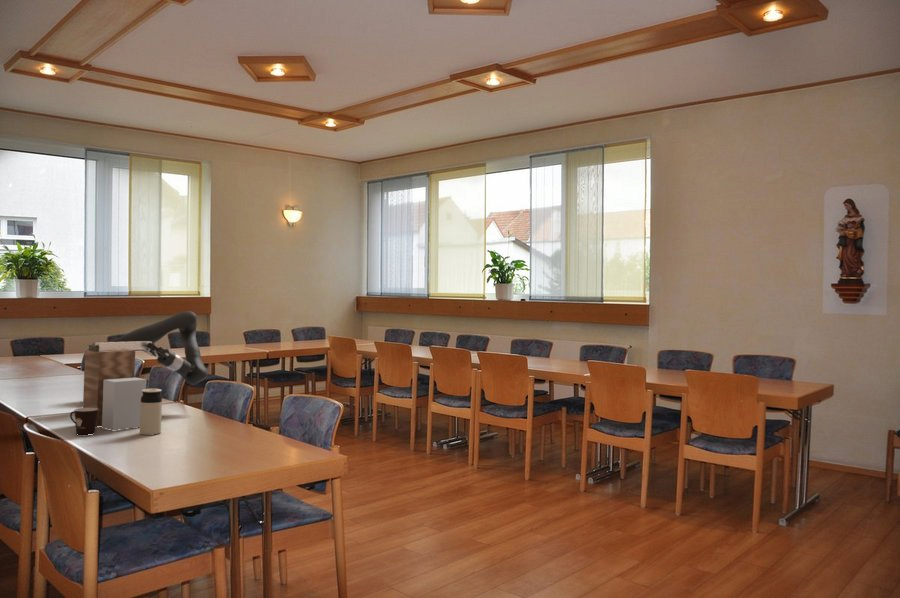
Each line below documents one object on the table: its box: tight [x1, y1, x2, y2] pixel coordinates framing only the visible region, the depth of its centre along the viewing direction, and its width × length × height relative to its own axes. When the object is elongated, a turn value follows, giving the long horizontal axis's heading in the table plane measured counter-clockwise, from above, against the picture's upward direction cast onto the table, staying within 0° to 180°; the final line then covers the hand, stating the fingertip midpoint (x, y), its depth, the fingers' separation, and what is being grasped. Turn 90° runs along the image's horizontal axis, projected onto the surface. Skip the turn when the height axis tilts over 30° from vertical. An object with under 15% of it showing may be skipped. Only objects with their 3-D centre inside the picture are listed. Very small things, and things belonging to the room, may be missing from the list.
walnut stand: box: [82, 344, 136, 427], centre depth 300 cm, size 16×12×34 cm
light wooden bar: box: [94, 341, 152, 351], centre depth 305 cm, size 24×4×4 cm, turn 144°
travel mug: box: [139, 388, 163, 436], centre depth 283 cm, size 8×8×18 cm
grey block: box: [101, 376, 148, 430], centre depth 293 cm, size 14×9×20 cm, turn 144°
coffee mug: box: [69, 407, 98, 436], centre depth 278 cm, size 12×9×10 cm
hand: (142, 343), depth 312 cm, fingers open, 8 cm apart
